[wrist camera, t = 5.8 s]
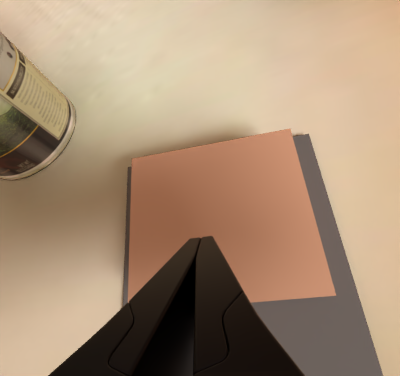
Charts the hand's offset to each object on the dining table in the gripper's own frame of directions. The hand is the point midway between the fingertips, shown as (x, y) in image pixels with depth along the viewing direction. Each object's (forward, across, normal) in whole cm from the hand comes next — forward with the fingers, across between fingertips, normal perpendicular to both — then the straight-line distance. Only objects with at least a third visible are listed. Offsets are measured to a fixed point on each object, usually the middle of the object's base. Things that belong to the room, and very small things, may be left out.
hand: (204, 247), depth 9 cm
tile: (+2, 0, +5) cm, 6 cm away
